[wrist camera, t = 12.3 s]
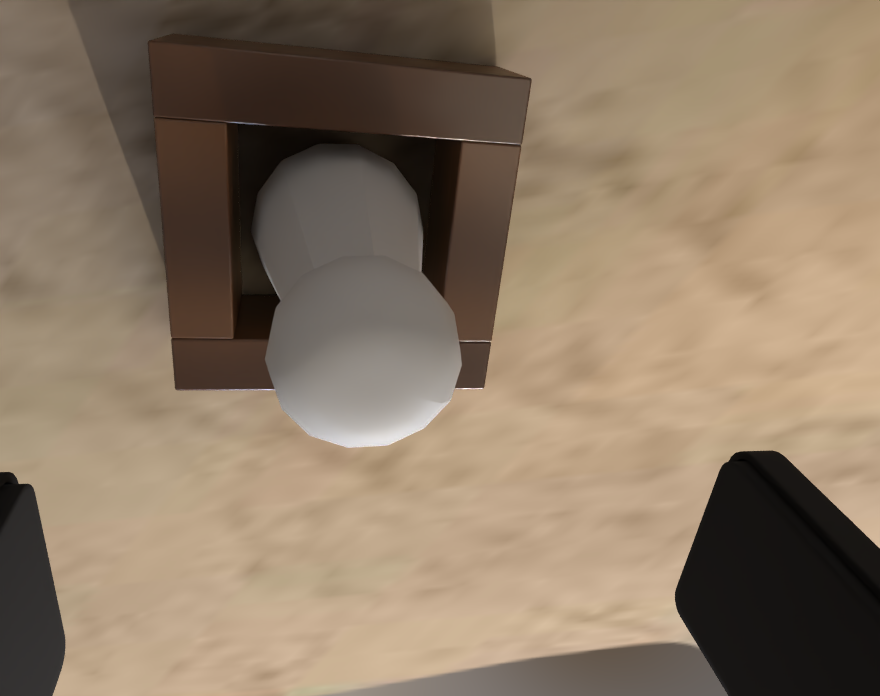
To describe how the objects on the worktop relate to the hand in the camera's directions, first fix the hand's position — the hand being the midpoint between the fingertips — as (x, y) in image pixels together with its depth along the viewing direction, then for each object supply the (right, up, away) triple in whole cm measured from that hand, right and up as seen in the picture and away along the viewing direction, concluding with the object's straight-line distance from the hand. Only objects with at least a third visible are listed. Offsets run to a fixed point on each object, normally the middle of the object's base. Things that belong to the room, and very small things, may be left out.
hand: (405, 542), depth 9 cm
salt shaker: (-3, +8, +16) cm, 18 cm away
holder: (-3, +8, +16) cm, 18 cm away
